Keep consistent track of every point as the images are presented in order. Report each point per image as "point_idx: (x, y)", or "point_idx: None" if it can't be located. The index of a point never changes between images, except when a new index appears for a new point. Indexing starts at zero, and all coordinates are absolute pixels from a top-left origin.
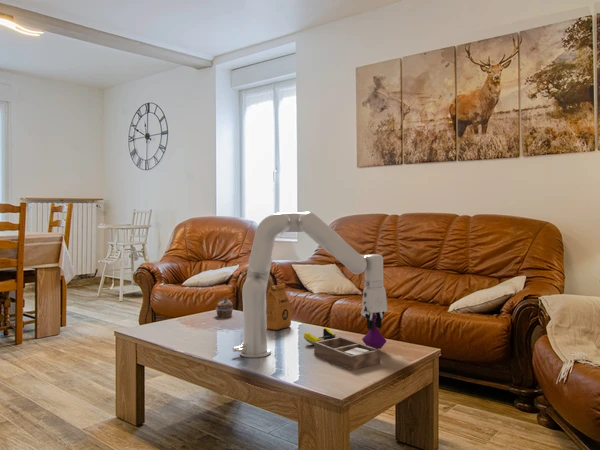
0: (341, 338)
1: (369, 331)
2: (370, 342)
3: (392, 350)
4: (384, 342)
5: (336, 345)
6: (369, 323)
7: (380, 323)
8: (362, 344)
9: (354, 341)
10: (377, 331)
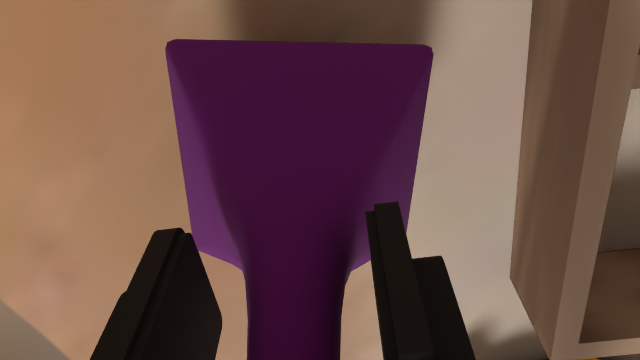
0: (577, 331)
1: (361, 254)
2: (430, 71)
3: (103, 39)
4: (205, 42)
5: (601, 285)
6: (460, 313)
7: (154, 292)
8: (624, 13)
9: (583, 184)
10: (266, 183)
